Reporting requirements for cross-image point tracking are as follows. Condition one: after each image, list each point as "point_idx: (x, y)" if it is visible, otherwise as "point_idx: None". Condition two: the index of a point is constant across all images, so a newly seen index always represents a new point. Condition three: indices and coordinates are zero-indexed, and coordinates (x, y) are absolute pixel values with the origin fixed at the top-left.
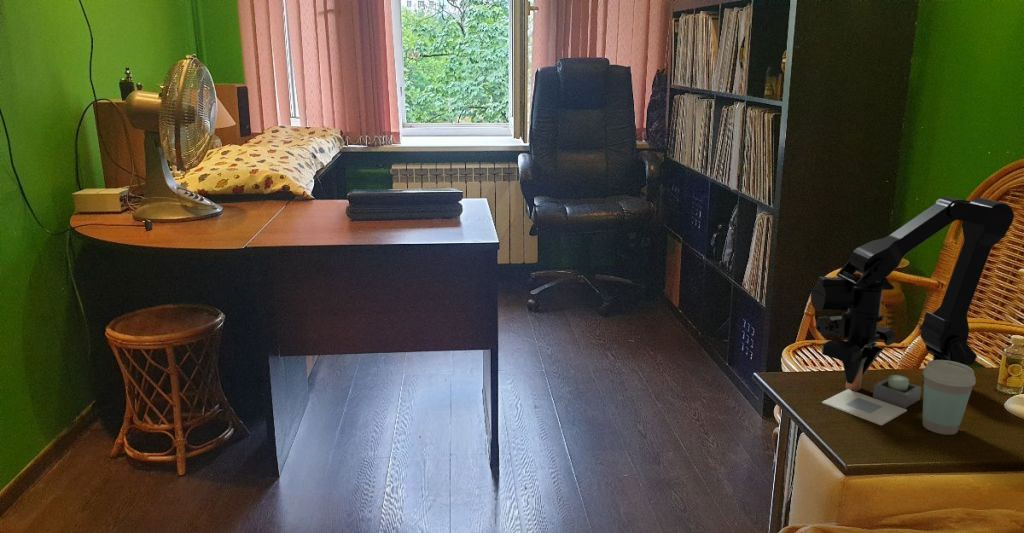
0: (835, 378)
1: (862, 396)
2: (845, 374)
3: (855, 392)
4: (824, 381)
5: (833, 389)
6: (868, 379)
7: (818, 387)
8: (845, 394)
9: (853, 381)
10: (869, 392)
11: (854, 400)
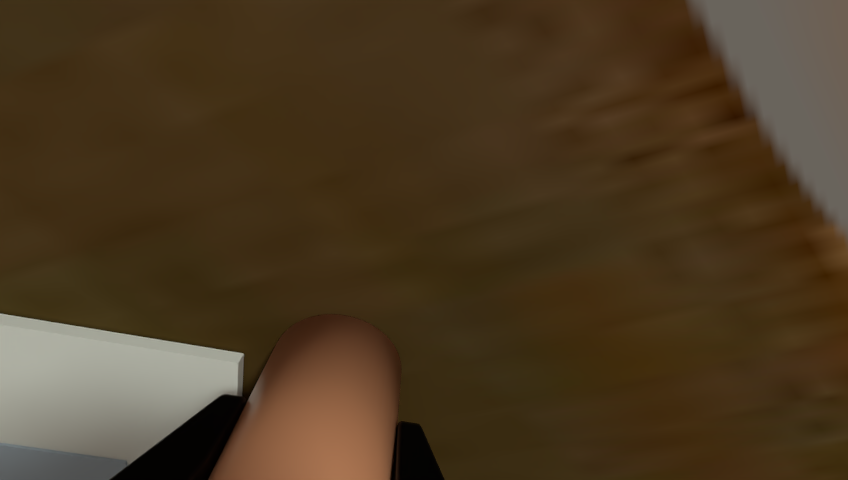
0: (474, 174)
1: None
2: (133, 463)
3: None
4: (283, 100)
5: (150, 250)
6: (645, 409)
7: (44, 104)
8: (93, 379)
9: None
10: None
11: (43, 457)
